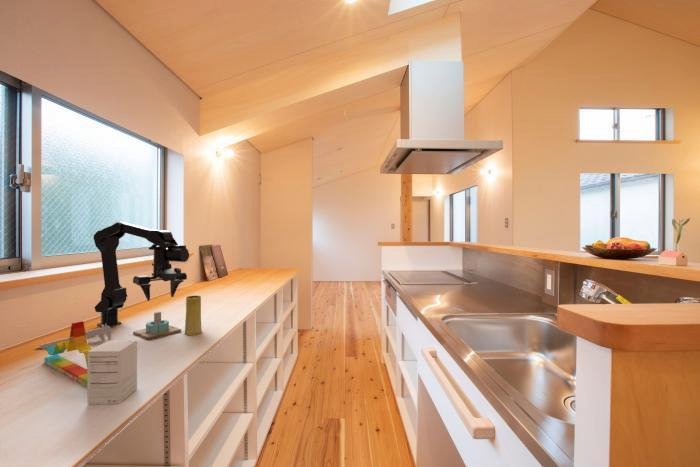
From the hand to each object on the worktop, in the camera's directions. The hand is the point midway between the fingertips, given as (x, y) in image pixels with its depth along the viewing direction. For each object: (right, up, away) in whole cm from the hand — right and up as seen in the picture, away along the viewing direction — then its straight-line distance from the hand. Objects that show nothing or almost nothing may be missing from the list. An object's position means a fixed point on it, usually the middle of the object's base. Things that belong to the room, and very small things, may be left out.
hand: (160, 298), depth 131 cm
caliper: (-19, -12, -20) cm, 30 cm away
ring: (+3, -11, -7) cm, 13 cm away
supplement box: (+20, -13, -54) cm, 59 cm away
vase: (+16, -12, -6) cm, 21 cm away
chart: (0, -13, -42) cm, 44 cm away
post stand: (+3, -12, -7) cm, 14 cm away
